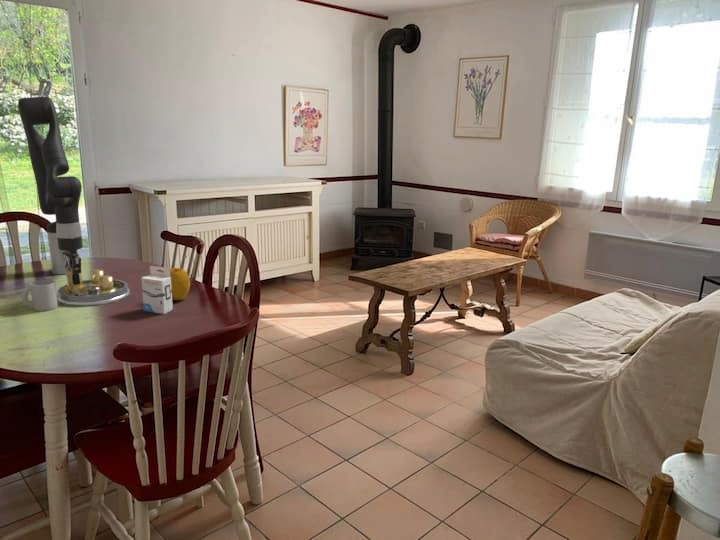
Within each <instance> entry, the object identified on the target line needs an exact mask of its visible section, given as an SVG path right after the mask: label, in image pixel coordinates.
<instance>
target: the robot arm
mask: <svg viewBox="0 0 720 540" xmlns="http://www.w3.org/2000/svg"><path fill="white" fill-rule="evenodd" d="M17 107H18V108H17V109H18V113H19V115H20V120H21V123H22V127H23V130H24V133H25V137H26V141H27V142H26V143H27V146H28V151H29V157H30V158H29V159H30V162H31V163H30V164H31V167H32V172H33V174H34V178H35V184H36V189H37V196H38V204H39V208H40V211H41V213H42V214H44V215H47V216H55V221H53V222H50V223H48V224H47V225H46V234H47V242H48V248H49V259H50V267H51V273H52V274H54V275H66V270H67V269H71V274H72V281H73V284H74V285H79V284H80V277H79V274H80V273H81V274H82V258H81V257H80V254H79V253H78V250H81V249H82V248H83V246H84V245H83V235H82V228H81V223H80V215H79V205H80V198H81V194H82V190H83V189H82V188H83V187H82V183H81V180H80V179H79V178H78V177H76V176H75V175H74V176H70V175H69V176H63V175H65V174H67V173H68V172H69V171H70V165H69V162H68V159H67V157H66V153H65V149H64V146H63V141H62V133H61V129H60V123H59V119H58V114H57V110H56V106H55V104H54V102H53V100H52V98H51V97H50V96H49V97H48V96H34V97H33V96H31V97H22V98H20V99H18V103H17ZM39 125H48V127H49V128H48V131H47V134H46V137H45V138H44V137H43V135H41V134H40V133H39V132H38V131H37V129H36V127H35V126H39ZM75 268H77V270H75Z"/></svg>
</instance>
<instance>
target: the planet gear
mask: <svg viewBox="0 0 720 540" xmlns="http://www.w3.org/2000/svg"><path fill="white" fill-rule="evenodd" d="M75 270H77V268H75ZM65 275H66V276H65V277H66V285H67V286H65V285H63V286H64V293H66V294H73V295H74V294H79V293H83V292H85V291H87V288H86V285H85V284H82V281H83V279H82V277H83V276H82V272H81V273H80V274H79V277H80V284H79V285H74V284H73V281H72V274H71V269H67V270H66V274H65Z"/></svg>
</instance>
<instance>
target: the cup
mask: <svg viewBox="0 0 720 540" xmlns="http://www.w3.org/2000/svg"><path fill="white" fill-rule="evenodd" d="M56 287H57V286H56V281H55V280H54V279H40V280H35V281H32V282H30V283H29V286H27V287H25V288H24V289H23V290H22V291H21V292H22V293H21V300H22V302H23V304H24V305H25V306H27V307H32V308H33V310H34V311H36V312H48V311H53V310H55V309H57V307H59V302H58V300H57V295H58V292H57V288H56ZM29 292H30V294H31V301H30V300H29V296H28V294H29Z"/></svg>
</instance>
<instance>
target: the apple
mask: <svg viewBox="0 0 720 540" xmlns="http://www.w3.org/2000/svg"><path fill="white" fill-rule="evenodd" d="M169 269H170V277H171V289H172V301H183V300H184V299H185V298H186V297H187V295H188V293H189V292H190V287H191V280H190V276H189V274H188V273H187V271H186V269H183V268H181V267H171V268H169Z"/></svg>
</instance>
